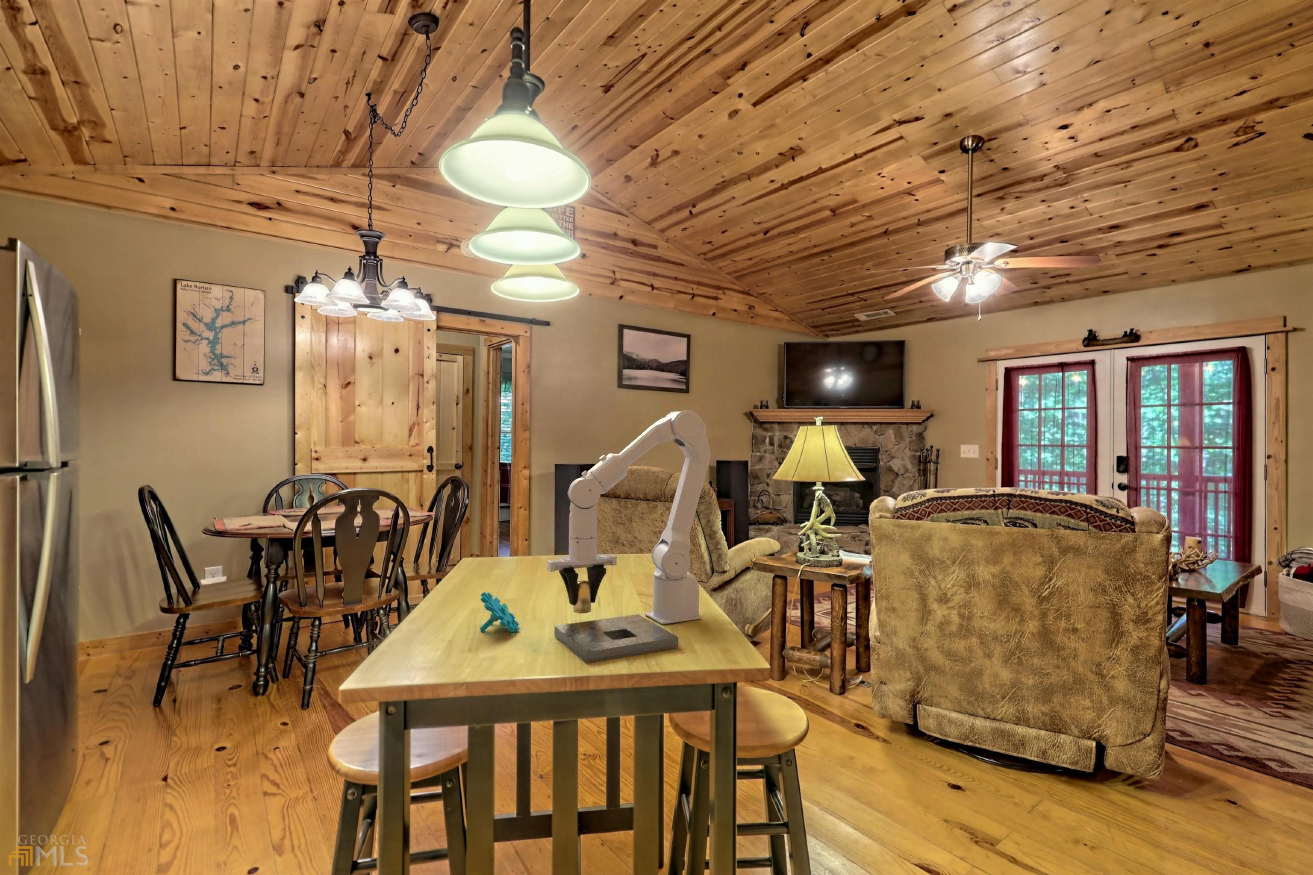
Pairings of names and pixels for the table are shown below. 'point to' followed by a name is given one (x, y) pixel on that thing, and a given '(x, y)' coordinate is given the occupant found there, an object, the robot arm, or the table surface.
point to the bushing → (583, 597)
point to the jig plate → (614, 638)
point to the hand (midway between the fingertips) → (582, 602)
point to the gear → (498, 613)
